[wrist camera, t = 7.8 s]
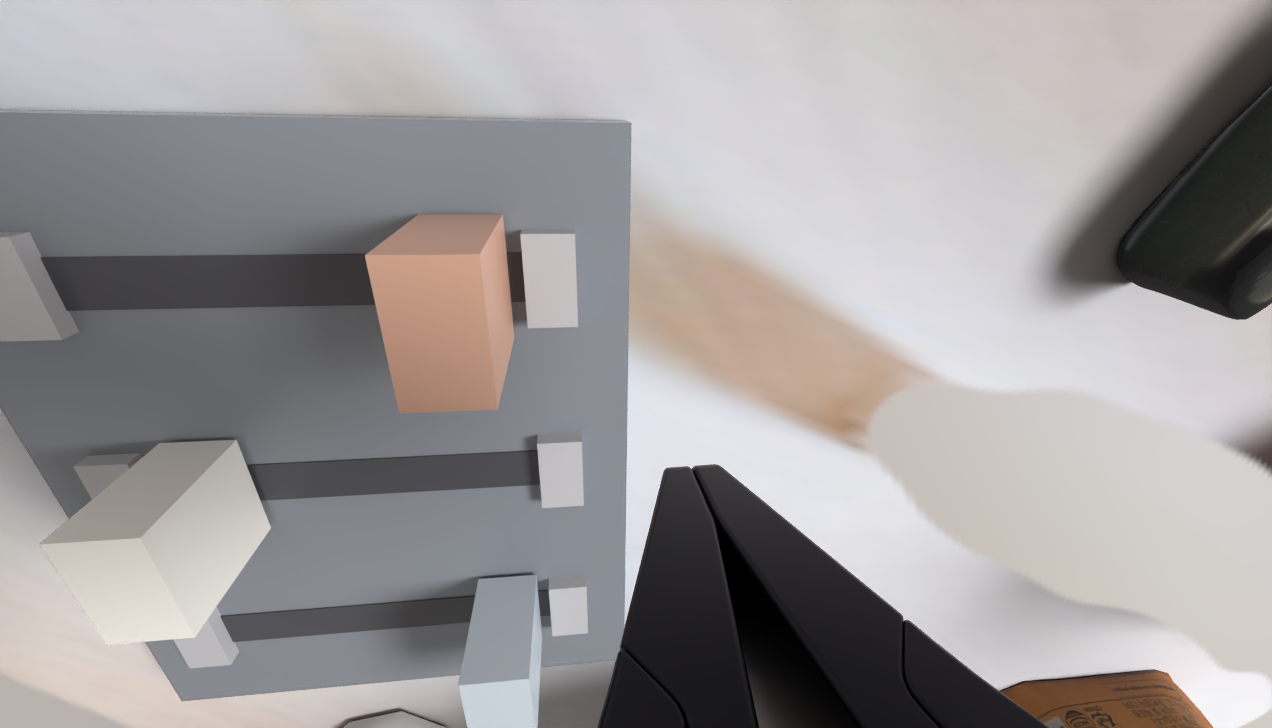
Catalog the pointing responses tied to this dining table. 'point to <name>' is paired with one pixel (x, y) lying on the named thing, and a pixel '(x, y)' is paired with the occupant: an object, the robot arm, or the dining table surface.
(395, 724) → the flask
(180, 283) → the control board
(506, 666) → the grey small block
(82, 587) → the ivory cuboid
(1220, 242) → the dark green block
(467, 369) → the salmon pink cuboid
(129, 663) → the dining table surface
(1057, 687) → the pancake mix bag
